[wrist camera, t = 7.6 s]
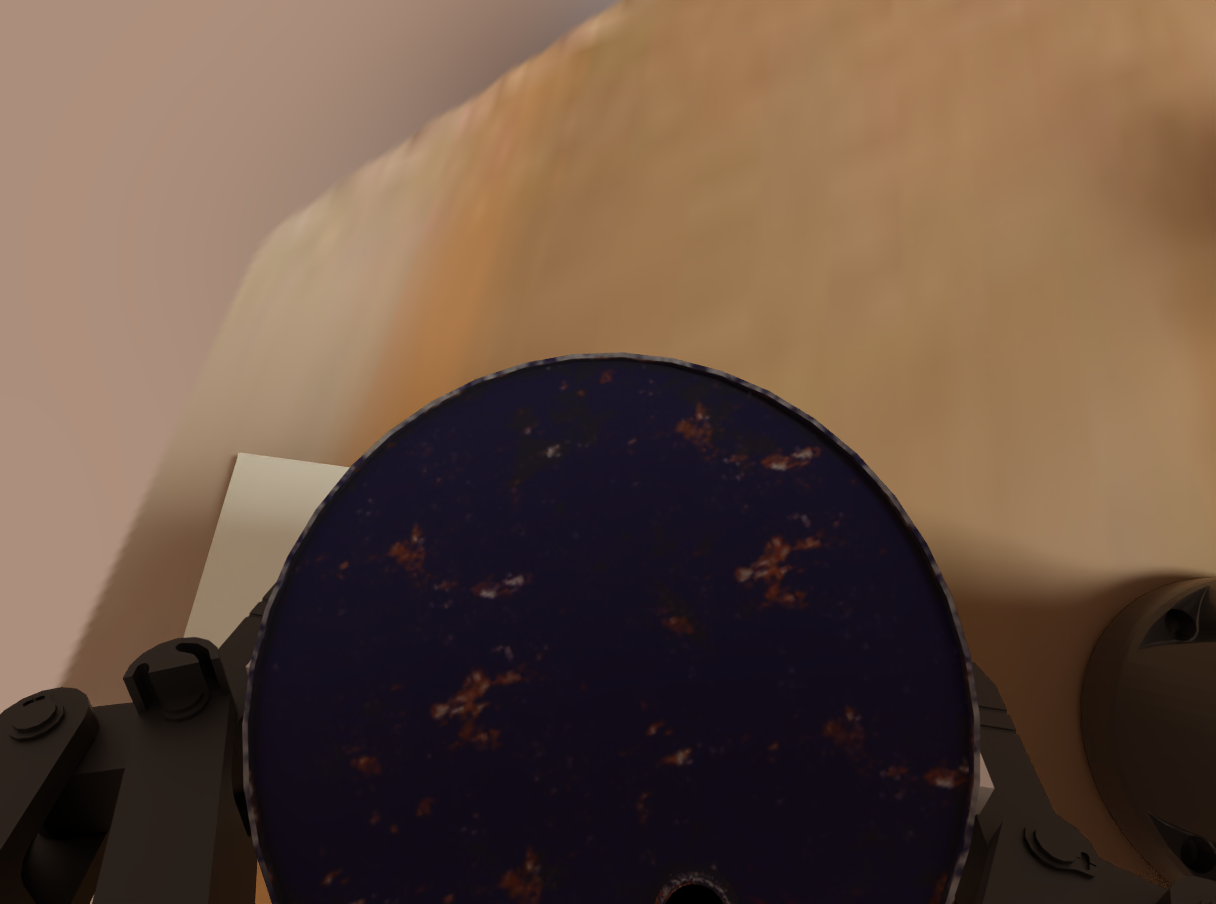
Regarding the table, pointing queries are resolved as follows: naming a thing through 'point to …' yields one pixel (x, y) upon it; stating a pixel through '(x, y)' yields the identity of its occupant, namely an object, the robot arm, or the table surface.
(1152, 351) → the table surface
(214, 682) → the robot arm
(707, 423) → the rusty oil drum
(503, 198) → the table surface
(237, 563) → the placemat
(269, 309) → the table surface
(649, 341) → the table surface
